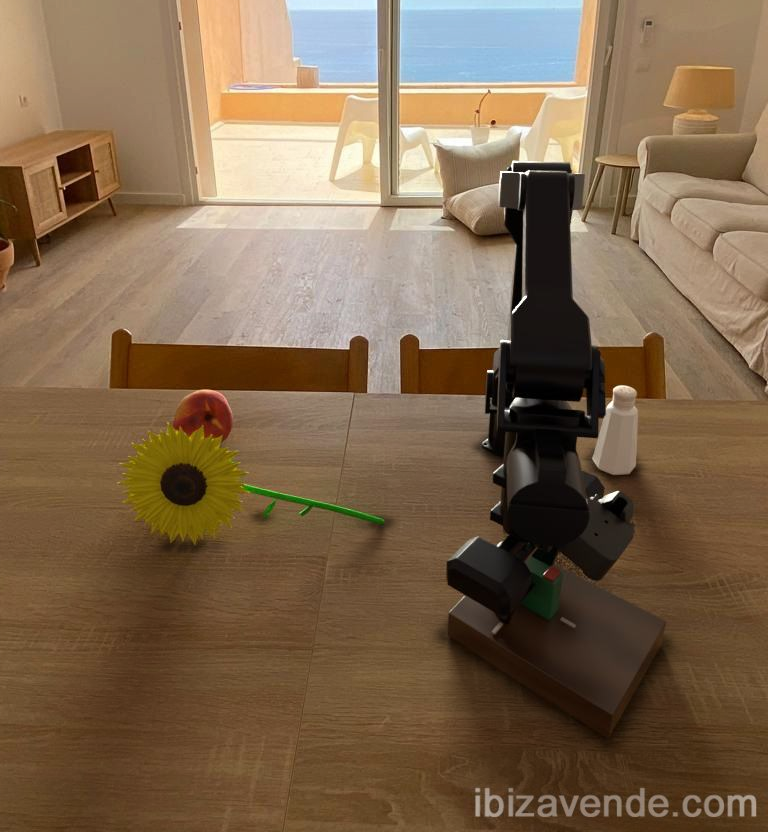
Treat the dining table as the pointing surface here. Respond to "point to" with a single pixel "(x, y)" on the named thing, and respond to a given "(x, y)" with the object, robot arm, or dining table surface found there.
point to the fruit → (204, 414)
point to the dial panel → (568, 648)
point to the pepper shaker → (618, 434)
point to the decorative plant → (195, 485)
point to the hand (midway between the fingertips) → (523, 597)
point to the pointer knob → (543, 588)
